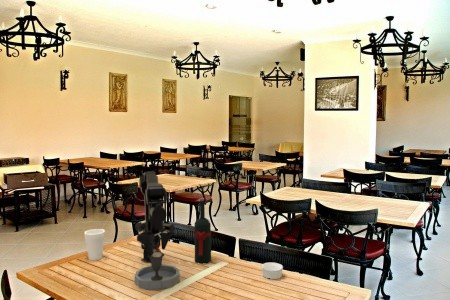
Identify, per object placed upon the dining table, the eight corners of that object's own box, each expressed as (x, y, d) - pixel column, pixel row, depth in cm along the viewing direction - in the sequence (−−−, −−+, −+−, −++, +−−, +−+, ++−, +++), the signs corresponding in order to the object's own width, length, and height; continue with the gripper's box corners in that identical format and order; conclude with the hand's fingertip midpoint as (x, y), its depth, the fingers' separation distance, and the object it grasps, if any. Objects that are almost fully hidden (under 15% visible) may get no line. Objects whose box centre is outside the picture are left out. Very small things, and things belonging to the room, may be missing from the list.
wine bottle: (192, 265, 176) (190, 200, 174) (196, 257, 186) (195, 196, 184) (209, 266, 175) (208, 201, 173) (212, 258, 185) (211, 196, 183)
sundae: (161, 282, 156) (160, 246, 155) (146, 281, 157) (145, 245, 156) (167, 275, 162) (166, 241, 161) (152, 274, 164) (151, 240, 163)
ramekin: (285, 273, 166) (285, 264, 166) (279, 281, 158) (279, 271, 158) (265, 270, 170) (265, 261, 169) (258, 278, 162) (258, 268, 161)
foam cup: (98, 253, 194) (97, 227, 193) (109, 256, 188) (108, 230, 187) (81, 258, 186) (80, 232, 185) (92, 262, 181) (92, 235, 180)
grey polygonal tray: (152, 269, 173) (152, 262, 172) (187, 275, 165) (187, 268, 165) (126, 284, 156) (125, 277, 156) (163, 293, 149) (162, 285, 148)
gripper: (153, 209, 170) (154, 243, 171) (125, 219, 153) (126, 257, 155) (174, 211, 165) (175, 247, 167) (148, 222, 149) (149, 261, 150)
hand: (156, 252), depth 160 cm, fingers open, 9 cm apart
